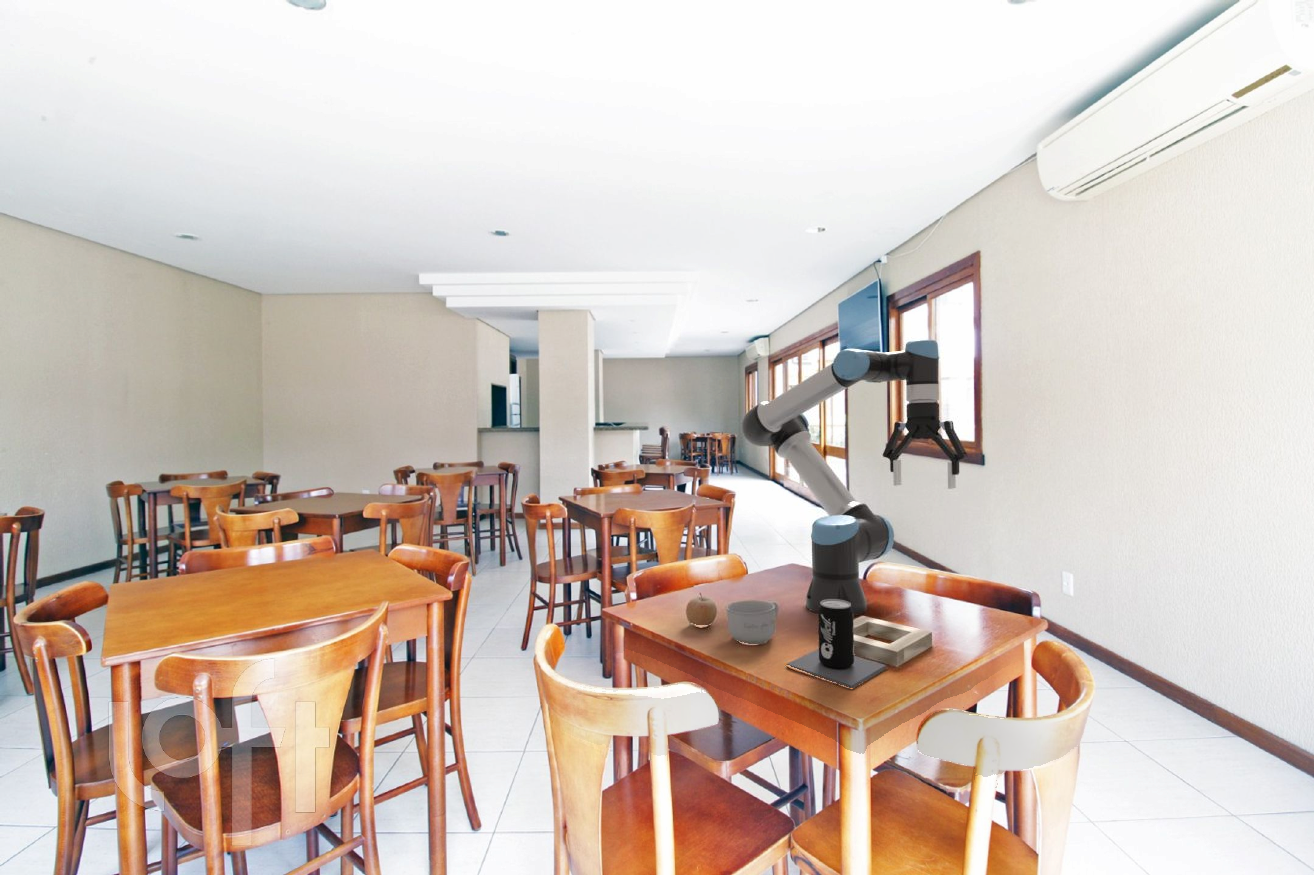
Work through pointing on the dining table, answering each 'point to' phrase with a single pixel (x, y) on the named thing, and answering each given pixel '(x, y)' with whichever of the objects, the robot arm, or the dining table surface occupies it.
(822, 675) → the mat
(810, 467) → the robot arm
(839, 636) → the beverage can
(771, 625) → the teacup
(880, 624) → the can holder
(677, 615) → the dining table surface
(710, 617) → the fruit
